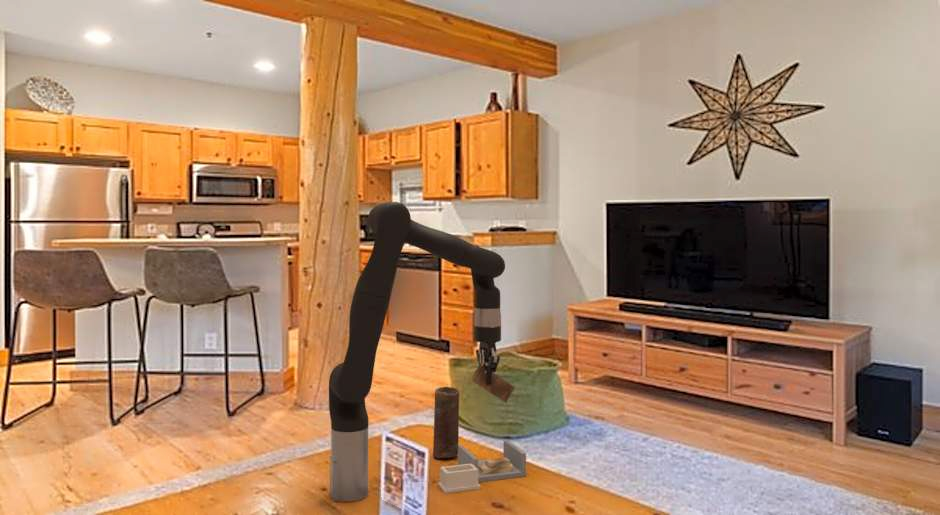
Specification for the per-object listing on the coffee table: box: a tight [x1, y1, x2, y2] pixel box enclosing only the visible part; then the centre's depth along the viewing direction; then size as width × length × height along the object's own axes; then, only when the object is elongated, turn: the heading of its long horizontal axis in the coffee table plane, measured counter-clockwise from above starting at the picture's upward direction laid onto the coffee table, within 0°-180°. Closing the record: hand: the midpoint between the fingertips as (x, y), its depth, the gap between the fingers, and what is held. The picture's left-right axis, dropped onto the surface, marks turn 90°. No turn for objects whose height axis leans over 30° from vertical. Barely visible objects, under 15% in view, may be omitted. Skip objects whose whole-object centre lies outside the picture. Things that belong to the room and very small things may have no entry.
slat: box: [470, 364, 516, 403], centre depth 181 cm, size 5×2×12 cm
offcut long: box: [478, 463, 514, 475], centre depth 175 cm, size 9×3×2 cm, turn 109°
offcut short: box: [485, 457, 510, 469], centre depth 175 cm, size 6×3×2 cm, turn 113°
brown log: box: [432, 386, 460, 460], centre depth 190 cm, size 8×7×20 cm
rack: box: [457, 439, 527, 483], centre depth 178 cm, size 15×13×6 cm
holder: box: [437, 463, 482, 494], centre depth 167 cm, size 10×6×5 cm, turn 109°
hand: (487, 386), depth 181 cm, fingers closed, pressing on slat
